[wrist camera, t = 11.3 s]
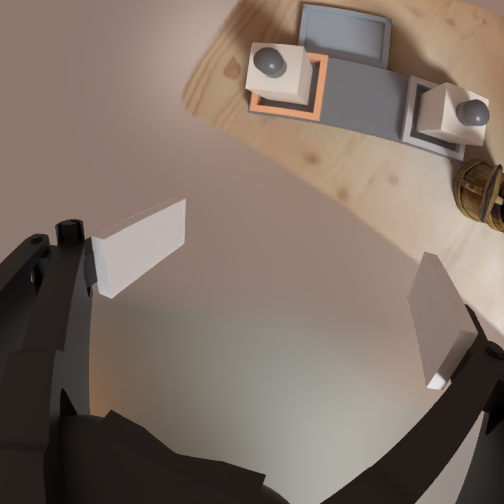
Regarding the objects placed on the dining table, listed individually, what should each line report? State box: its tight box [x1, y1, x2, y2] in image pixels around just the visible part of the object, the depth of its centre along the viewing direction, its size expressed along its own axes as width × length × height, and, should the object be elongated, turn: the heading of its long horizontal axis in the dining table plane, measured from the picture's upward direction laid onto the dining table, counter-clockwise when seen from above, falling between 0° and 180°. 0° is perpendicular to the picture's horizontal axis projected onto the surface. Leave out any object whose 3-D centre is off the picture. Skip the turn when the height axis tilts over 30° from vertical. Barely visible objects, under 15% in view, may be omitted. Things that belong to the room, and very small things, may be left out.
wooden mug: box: [454, 160, 504, 233], centre depth 25 cm, size 9×14×18 cm, turn 77°
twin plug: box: [416, 82, 489, 146], centre depth 23 cm, size 5×5×13 cm
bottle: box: [245, 42, 313, 105], centre depth 27 cm, size 5×5×13 cm
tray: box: [298, 4, 391, 70], centre depth 30 cm, size 12×8×1 cm, turn 83°
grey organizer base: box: [248, 52, 466, 163], centre depth 32 cm, size 29×9×4 cm, turn 83°
